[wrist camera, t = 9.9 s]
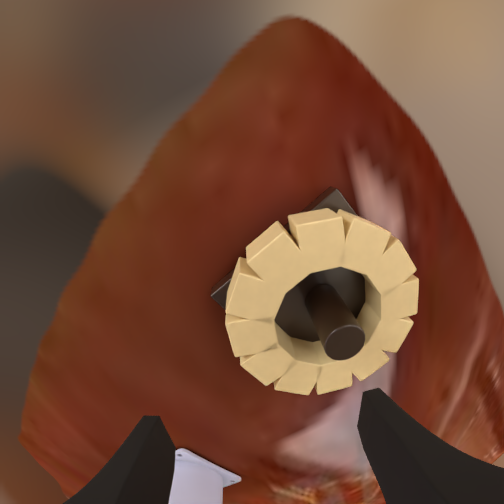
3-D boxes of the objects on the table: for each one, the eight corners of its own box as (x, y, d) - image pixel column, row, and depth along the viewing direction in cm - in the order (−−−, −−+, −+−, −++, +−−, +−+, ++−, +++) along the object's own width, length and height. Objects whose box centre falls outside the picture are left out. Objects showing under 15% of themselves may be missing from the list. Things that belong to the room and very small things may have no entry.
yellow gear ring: (301, 392, 19) (307, 416, 17) (190, 294, 16) (182, 315, 14) (422, 299, 17) (441, 316, 15) (337, 169, 15) (353, 171, 12)
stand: (302, 371, 20) (318, 431, 14) (211, 287, 18) (200, 342, 12) (404, 291, 18) (449, 335, 13) (330, 185, 16) (372, 200, 11)
